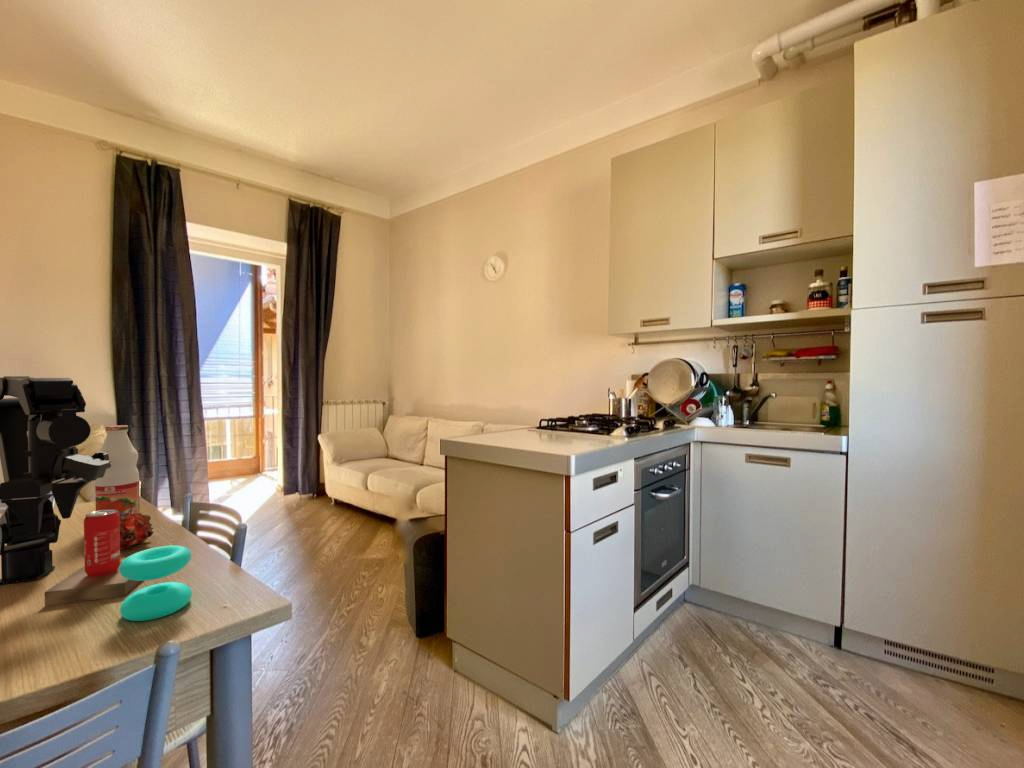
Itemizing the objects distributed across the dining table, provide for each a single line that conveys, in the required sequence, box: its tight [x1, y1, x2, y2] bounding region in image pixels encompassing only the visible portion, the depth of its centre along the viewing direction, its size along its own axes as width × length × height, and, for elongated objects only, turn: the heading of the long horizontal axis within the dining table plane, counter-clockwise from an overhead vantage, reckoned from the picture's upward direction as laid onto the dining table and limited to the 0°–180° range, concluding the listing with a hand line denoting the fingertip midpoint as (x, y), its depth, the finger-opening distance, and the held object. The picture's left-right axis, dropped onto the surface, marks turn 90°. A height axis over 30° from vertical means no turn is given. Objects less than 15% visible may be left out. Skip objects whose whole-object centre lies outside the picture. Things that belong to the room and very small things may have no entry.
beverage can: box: [83, 509, 121, 578], centre depth 91 cm, size 5×5×12 cm
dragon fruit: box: [119, 511, 154, 550], centre depth 113 cm, size 8×8×12 cm
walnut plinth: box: [44, 561, 142, 607], centre depth 90 cm, size 12×12×2 cm
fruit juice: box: [94, 424, 141, 518], centre depth 129 cm, size 9×9×28 cm
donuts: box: [119, 544, 193, 622], centre depth 81 cm, size 10×10×10 cm
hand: (51, 525), depth 88 cm, fingers open, 9 cm apart
